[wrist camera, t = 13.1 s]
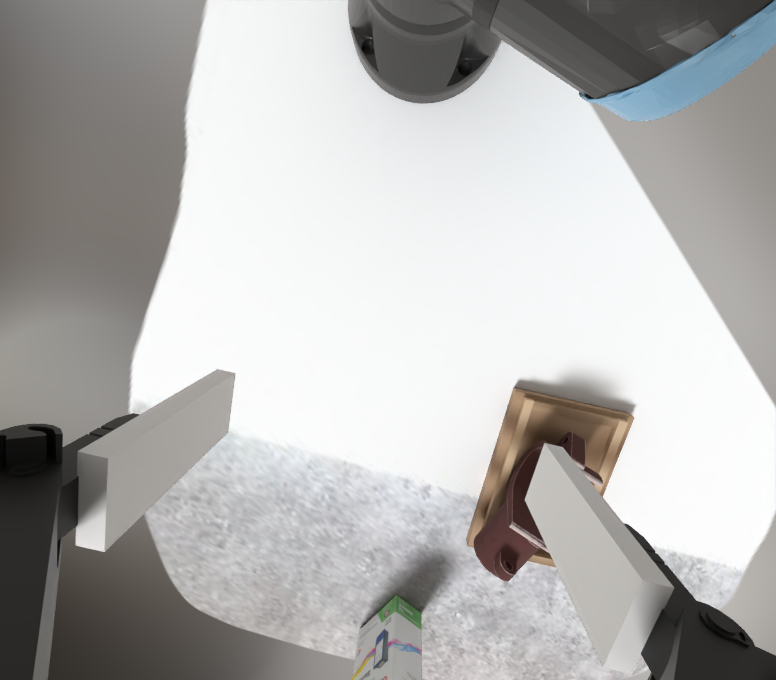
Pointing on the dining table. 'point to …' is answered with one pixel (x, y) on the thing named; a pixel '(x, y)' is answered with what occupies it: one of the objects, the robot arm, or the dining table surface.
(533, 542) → the bracket
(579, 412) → the side panel
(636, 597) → the robot arm
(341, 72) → the dining table surface
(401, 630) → the ink box
